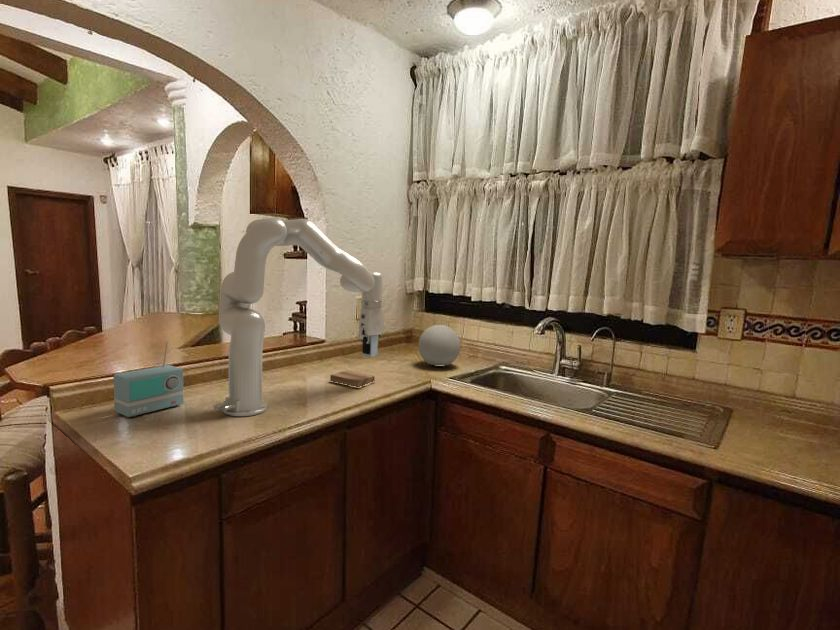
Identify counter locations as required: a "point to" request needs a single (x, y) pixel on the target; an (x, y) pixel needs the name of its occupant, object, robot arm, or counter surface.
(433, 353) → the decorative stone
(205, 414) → the counter surface
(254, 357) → the robot arm
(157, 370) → the radio
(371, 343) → the block
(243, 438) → the counter surface
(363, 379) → the brown box
